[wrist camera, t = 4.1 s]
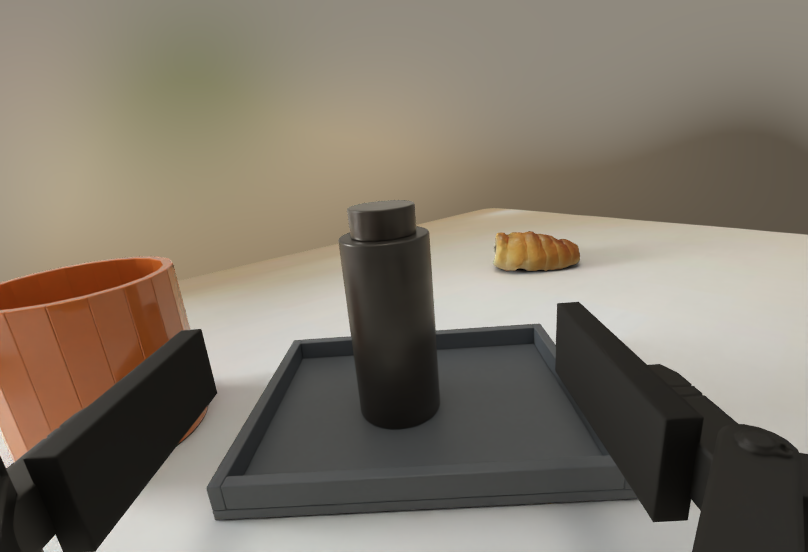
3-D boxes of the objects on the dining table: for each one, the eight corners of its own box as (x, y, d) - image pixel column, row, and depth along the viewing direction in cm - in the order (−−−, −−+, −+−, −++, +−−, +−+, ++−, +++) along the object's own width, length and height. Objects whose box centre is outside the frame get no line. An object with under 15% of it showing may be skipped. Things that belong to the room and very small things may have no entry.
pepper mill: (437, 379, 25) (425, 195, 22) (443, 427, 21) (429, 208, 17) (365, 384, 25) (342, 202, 22) (356, 432, 21) (325, 216, 18)
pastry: (572, 255, 49) (573, 223, 48) (586, 273, 43) (588, 237, 42) (491, 258, 51) (491, 227, 50) (493, 275, 45) (493, 241, 44)
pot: (232, 380, 28) (201, 251, 25) (152, 486, 19) (93, 306, 17) (103, 389, 28) (59, 262, 26) (-32, 495, 20) (-119, 321, 17)
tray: (539, 345, 29) (540, 323, 29) (638, 499, 16) (642, 463, 16) (297, 361, 30) (293, 340, 29) (214, 520, 17) (205, 488, 17)
